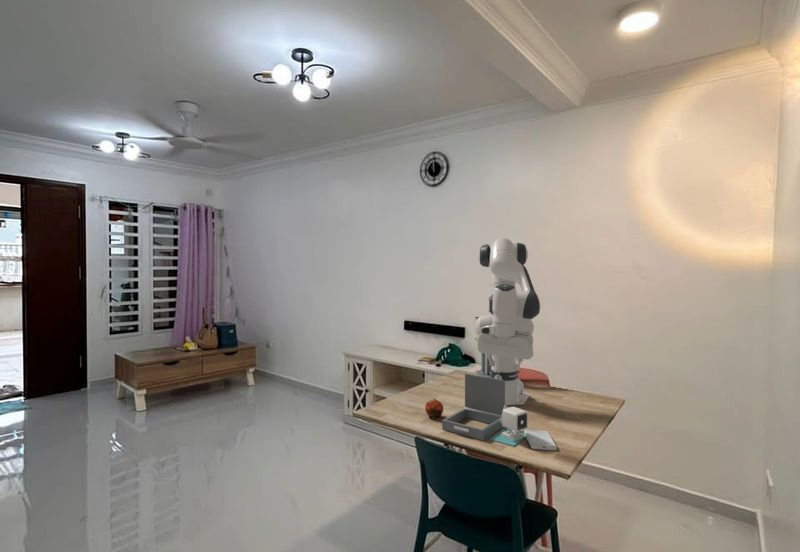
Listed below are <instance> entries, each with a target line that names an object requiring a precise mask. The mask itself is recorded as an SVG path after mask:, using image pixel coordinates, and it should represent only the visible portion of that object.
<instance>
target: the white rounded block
mask: <svg viewBox="0 0 800 552" xmlns="http://www.w3.org/2000/svg"><path fill="white" fill-rule="evenodd" d="M502 425H503V427H502V428H505V429H508V430H509V431H507V432H503V433H502V437H504V438H506V439H509V440H511V441H516V440H519V439H522V438H523V434H524V433H523V434H521V433H522V431H524V430H528V428H529V411H528V410H524V409H522V408H519V407H515V406H510V407H507V408H505V409H503V417H502Z"/></svg>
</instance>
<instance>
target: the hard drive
mask: <svg viewBox="0 0 800 552" xmlns="http://www.w3.org/2000/svg"><path fill="white" fill-rule="evenodd" d="M523 431H524V433H523V434H525V436H526V437H525V438H526V441H528V444H529V446H530V447H531V449H532V450H546V451H557V448H558V447H557V445H556V443H555V442H554V439H553V438H552V436H551V435H550V434H549V432H548V430H540V429H539V430H537V429H525V430H523Z"/></svg>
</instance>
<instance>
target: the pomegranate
mask: <svg viewBox="0 0 800 552" xmlns="http://www.w3.org/2000/svg"><path fill="white" fill-rule="evenodd" d="M424 408H425V409H424V410H425V412H426V414H427V415H428V416H429V417H430V418H431V417H432V421H434V419H435V416H436V418H437V417H438V418H439V417H441V416H442V415H443V412H444V405H443V403H442V402H441V401H439V400H437V399H436V398H434V399H432V400H429V401H427V402H426V403H425V407H424Z"/></svg>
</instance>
